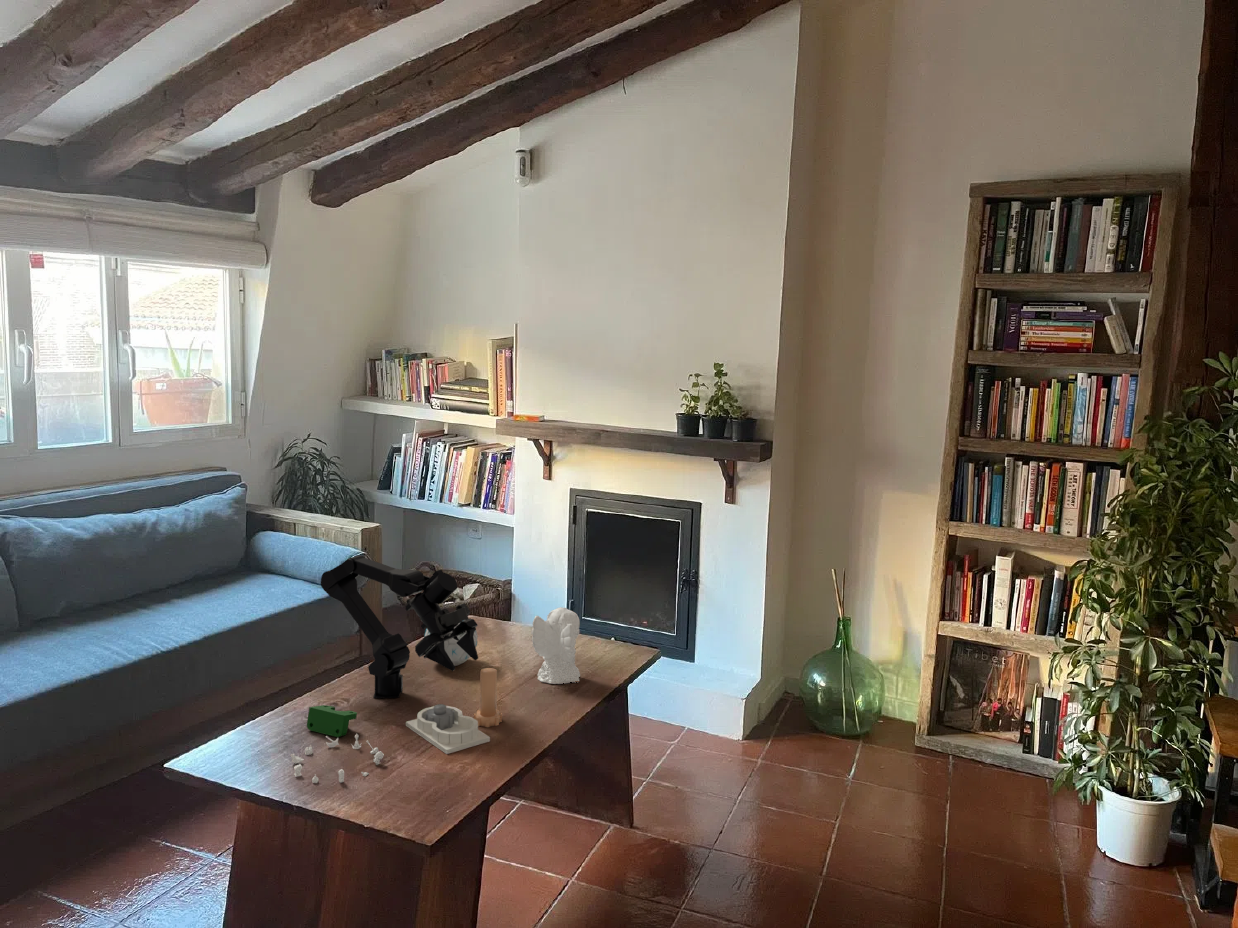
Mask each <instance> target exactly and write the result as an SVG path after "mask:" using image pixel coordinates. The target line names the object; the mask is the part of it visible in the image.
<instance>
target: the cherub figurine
mask: <svg viewBox="0 0 1238 928" xmlns="http://www.w3.org/2000/svg"><path fill="white" fill-rule="evenodd" d="M580 625H581V622H580V618H579V616H578V614H577V613H576V612H574V611H573V610H570V609H568V608H567V607H563V606H560V607H557V608H555V609H552V610H551V611H549V613H548V614H547V616H546V620H544V619H543V618H542V617H540V616H539V615H535V617H534V618H533V621H532V629H531V635H532V638H531V642H532V644H531V645H532V647H533V648H534V649H533V650H534V652H535V653H536V654H537V655H538V656H539V657H542V659H543V660H544V661H543V662H542V664H541V667H540V668H539V670H538V672H537V675H536V676H537V680H538V681H539V682H541V683H547V684H554V685H556V684H557V685H561V684H563V683H564V684H571V683H570V682H572V683H576V682H575V681H579V682H580V678H581V673H580V669H579V668H578V667H577V666H576V652H577V650H576V648H575V647H576V645H577V642H576V639H578V637H579V635H580ZM579 677H580V678H579Z"/></svg>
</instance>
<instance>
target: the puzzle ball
mask: <svg viewBox="0 0 1238 928" xmlns="http://www.w3.org/2000/svg"><path fill="white" fill-rule="evenodd" d="M463 621H464V620H463ZM459 624H460V623H459ZM459 624H458V625H459ZM458 625H457V626H458ZM457 626H456V627H457ZM456 627H454V629H455V628H456ZM427 635H430V633H429V631H428V630H427V628H425V630H424V636H423V638H424V637H425V636H427ZM473 638H474V643H475V647H476V648H477V646H478V632H477V630H476V631H475V632H474V636H473ZM458 641H459V640H458ZM458 641H457V640H455V639H454V638H451V639H449V640H446V641H444V649H445V651H446V653H447V654H448V656H449V658H450V659H451V661H452V662H453V664H454V666H455V667H456V666H459V665H461V664H463V663H465V662H467V660H469V659H470V658H471V657H470V656H469V655H468V654H467V653H466V652H465V651H464V650H463V649H462V648H461V647H460V646H459V645H458V644H457V642H458Z"/></svg>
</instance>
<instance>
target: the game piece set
mask: <svg viewBox="0 0 1238 928" xmlns="http://www.w3.org/2000/svg"><path fill="white" fill-rule="evenodd" d="M325 738H327V739H328V740H329V741H331V742H327V741H326V742H325V744H326V746H327V747H329V748H335V747H336V746H340V744H339V738H340V737H337V738H336V739H335V740H333V739H331V738H330V737H329V735H326V736H325ZM354 738H355V742H354V745H353V743H350V745H351V746H352V747H351V748H352V749H354V750H359V749H361V748H362V743H359V734H358V733H356V734H355V735H354ZM366 743H367V744H368V745H369V746H370V748H371V751H370V752H369V753H370V755H373V763H375V765H376V766H378V765H380V761H381V760H382V759H383V758H384V755H385V754H384V753H383V752H382V751H381V750H380V751H379V747H374V748H373V746H372V745H371V743H370V741H369V740H366ZM313 753H314V751H313V747H312V744H310V745H309V746H307V747H305V749H304V754H305V756H310V755H312V754H313ZM289 756H290V757H291V761H292V763H294V764H295V765H294V767H293V769H294V773H293V776H294V775H295V776H294V777H295V778H296V777H301V776H302V773H301V770H302V769H303V766H302V764H301V763H302V762H303V761H305V759H304V758H302V757H300V756H298V755H297V756H296V754H295V753H292V754H290V755H289ZM296 764H297V765H296ZM337 774H338V782H339V783H340V784H341V783H344V782H345V770H344V769H342V768H341V769H339V770H338V772H337ZM369 774H370V773H369V772H366V771H365V772H364V771H361V775H362V777H366V776H368V775H369ZM311 782H312V784H318V782H319V777H318V776H317V774H314V776H313V777H312V778H311Z"/></svg>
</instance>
